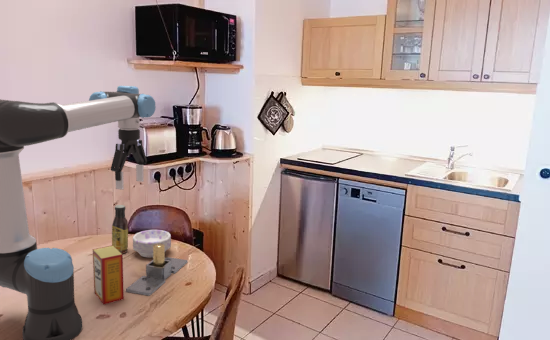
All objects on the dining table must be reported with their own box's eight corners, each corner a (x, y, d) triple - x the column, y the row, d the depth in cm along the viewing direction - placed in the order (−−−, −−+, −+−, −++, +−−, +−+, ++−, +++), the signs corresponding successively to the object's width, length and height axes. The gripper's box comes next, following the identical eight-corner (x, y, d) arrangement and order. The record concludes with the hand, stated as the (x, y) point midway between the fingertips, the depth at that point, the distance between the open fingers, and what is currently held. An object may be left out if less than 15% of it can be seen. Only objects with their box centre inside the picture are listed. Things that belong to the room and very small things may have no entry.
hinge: (149, 295, 147) (149, 282, 146) (125, 291, 149) (125, 278, 148) (187, 262, 175) (187, 250, 174) (166, 259, 177) (166, 247, 176)
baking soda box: (94, 293, 147) (92, 248, 144) (113, 288, 151) (112, 244, 148) (103, 304, 140) (101, 257, 137) (123, 299, 144) (122, 253, 141)
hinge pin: (161, 279, 159) (161, 248, 157) (151, 277, 160) (151, 246, 158) (166, 274, 163) (166, 244, 161) (156, 273, 164) (156, 242, 162)
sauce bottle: (109, 252, 181) (107, 205, 177) (121, 247, 186) (120, 202, 182) (118, 256, 178) (117, 209, 174) (131, 251, 183) (130, 205, 179)
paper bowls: (135, 263, 172) (135, 243, 170) (131, 249, 186) (130, 231, 184) (174, 258, 178) (174, 239, 177) (167, 245, 192) (167, 227, 190)
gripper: (118, 133, 148) (119, 193, 152) (155, 126, 171) (156, 179, 176) (98, 131, 149) (100, 191, 154) (138, 125, 173) (139, 177, 177)
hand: (130, 185), depth 165 cm, fingers open, 13 cm apart
